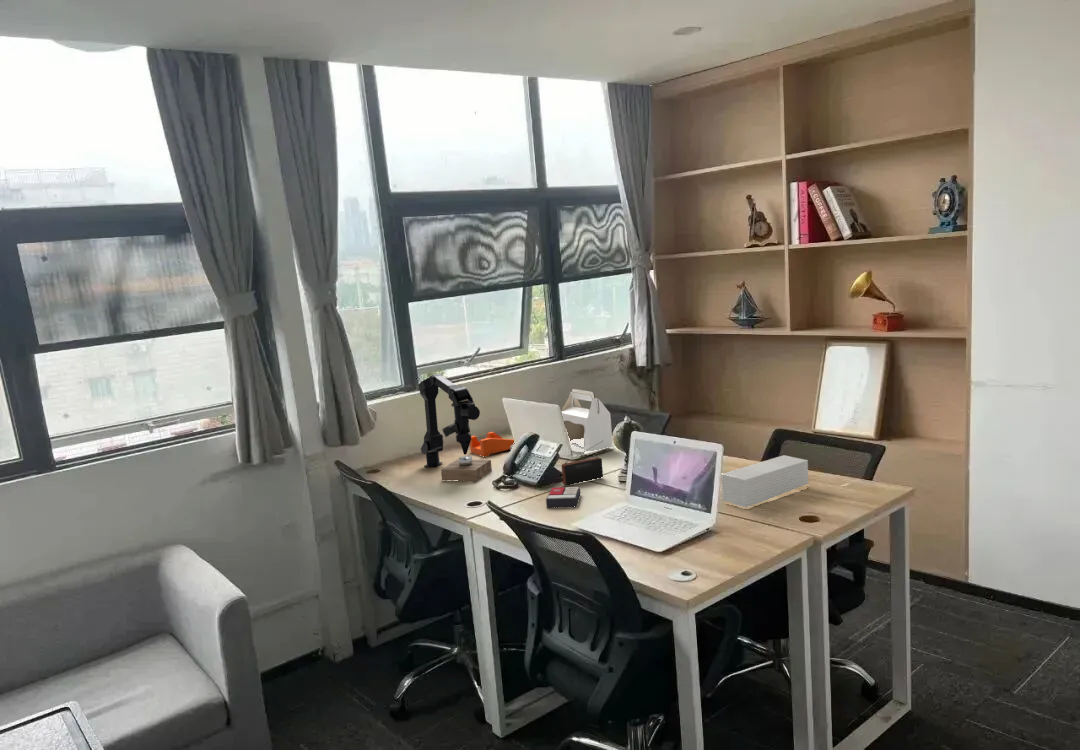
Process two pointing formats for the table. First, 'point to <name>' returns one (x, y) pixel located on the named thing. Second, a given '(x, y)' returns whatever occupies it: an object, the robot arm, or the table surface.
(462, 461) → the steel peg
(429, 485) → the table surface
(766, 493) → the grey rectangular block
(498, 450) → the tape dispenser
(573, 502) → the flat rectangular box
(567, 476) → the radio
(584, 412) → the gable box
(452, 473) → the walnut block
